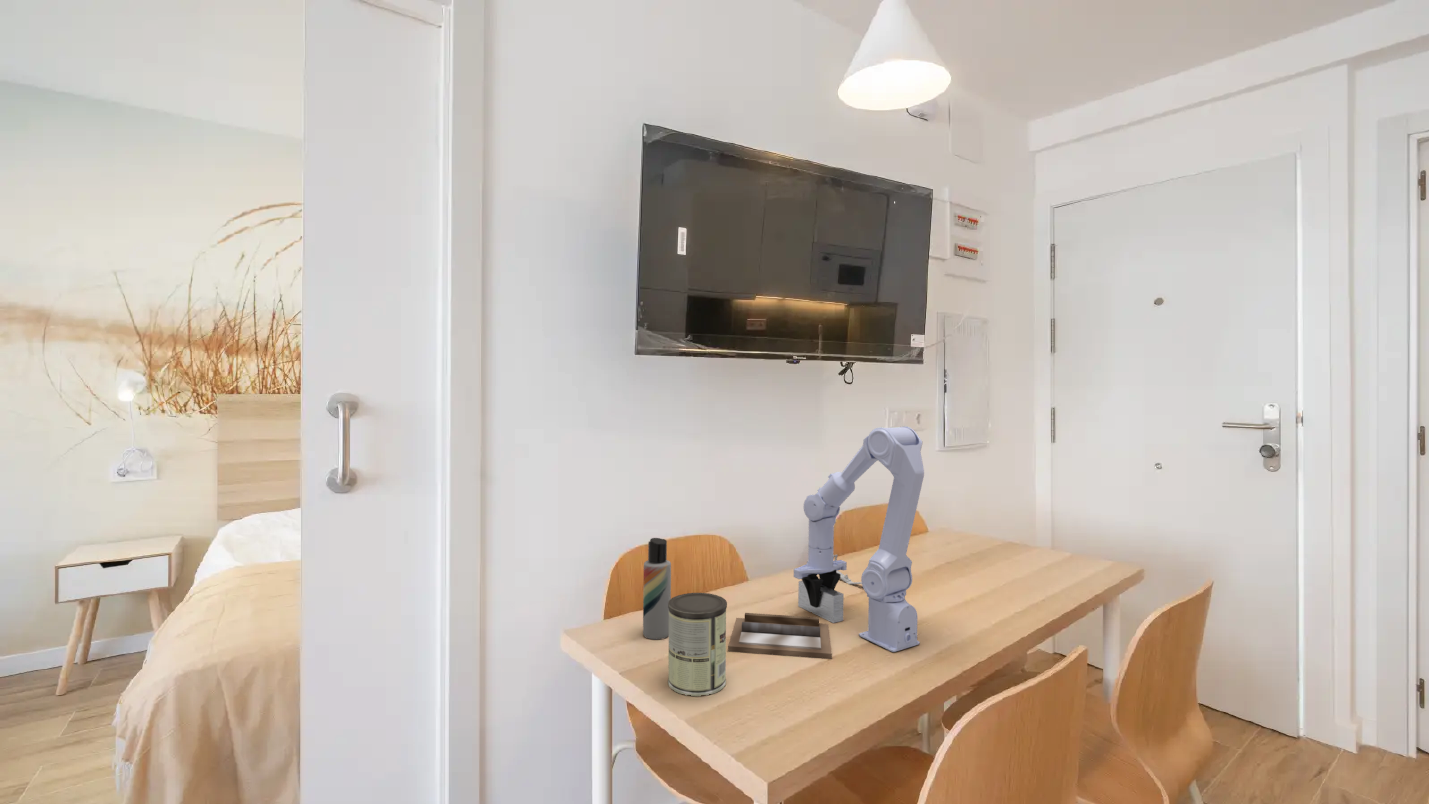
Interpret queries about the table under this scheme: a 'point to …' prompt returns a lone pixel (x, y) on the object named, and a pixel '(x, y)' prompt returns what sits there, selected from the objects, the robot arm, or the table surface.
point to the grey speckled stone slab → (823, 603)
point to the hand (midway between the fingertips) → (820, 604)
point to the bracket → (842, 576)
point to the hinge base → (781, 636)
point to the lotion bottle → (656, 590)
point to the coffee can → (697, 643)
